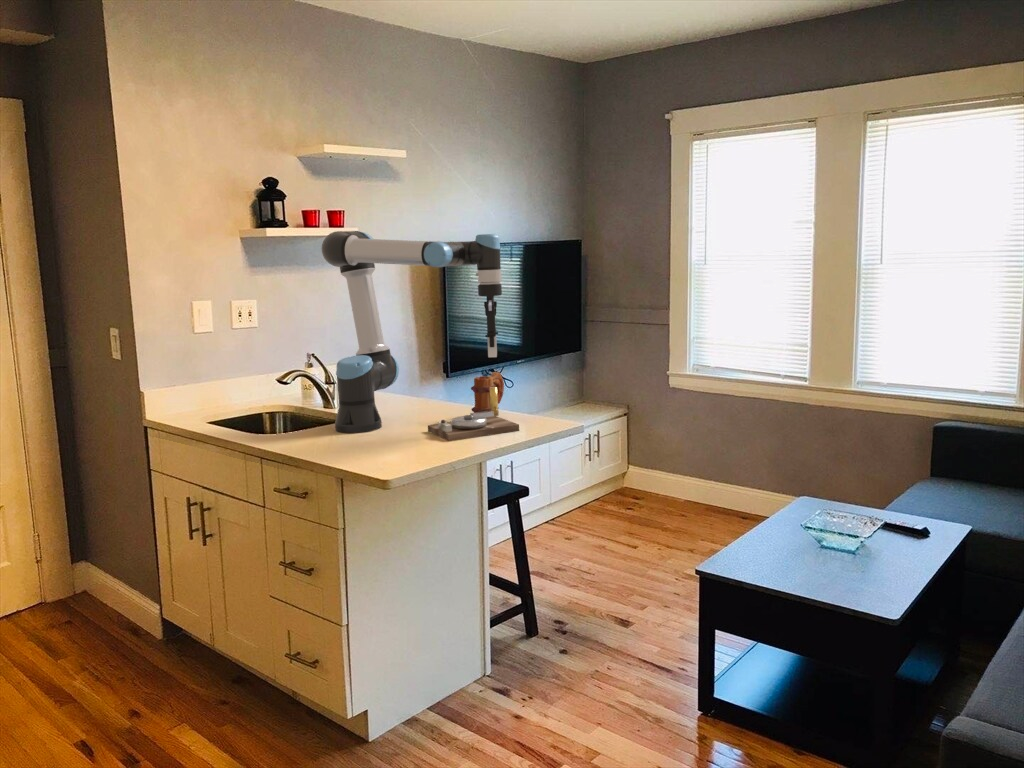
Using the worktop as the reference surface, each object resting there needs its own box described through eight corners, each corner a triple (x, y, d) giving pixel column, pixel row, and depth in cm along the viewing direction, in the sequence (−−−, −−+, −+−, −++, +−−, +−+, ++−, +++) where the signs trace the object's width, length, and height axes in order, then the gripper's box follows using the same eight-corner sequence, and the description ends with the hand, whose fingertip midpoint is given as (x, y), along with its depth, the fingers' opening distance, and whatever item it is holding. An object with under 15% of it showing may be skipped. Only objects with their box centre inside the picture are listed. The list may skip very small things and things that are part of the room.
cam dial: (460, 430, 252) (458, 395, 251) (446, 424, 262) (444, 390, 260) (506, 423, 260) (504, 389, 258) (490, 418, 269) (489, 384, 267)
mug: (485, 422, 275) (483, 377, 273) (467, 420, 280) (465, 376, 277) (512, 414, 286) (510, 371, 284) (494, 412, 291) (492, 370, 289)
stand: (428, 431, 264) (427, 416, 264) (495, 421, 275) (494, 406, 274) (449, 441, 249) (448, 425, 248) (519, 430, 260) (519, 415, 259)
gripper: (478, 282, 272) (482, 353, 275) (476, 284, 254) (480, 360, 258) (501, 281, 272) (504, 352, 275) (501, 284, 254) (504, 359, 258)
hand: (492, 355), depth 266 cm, fingers open, 5 cm apart
